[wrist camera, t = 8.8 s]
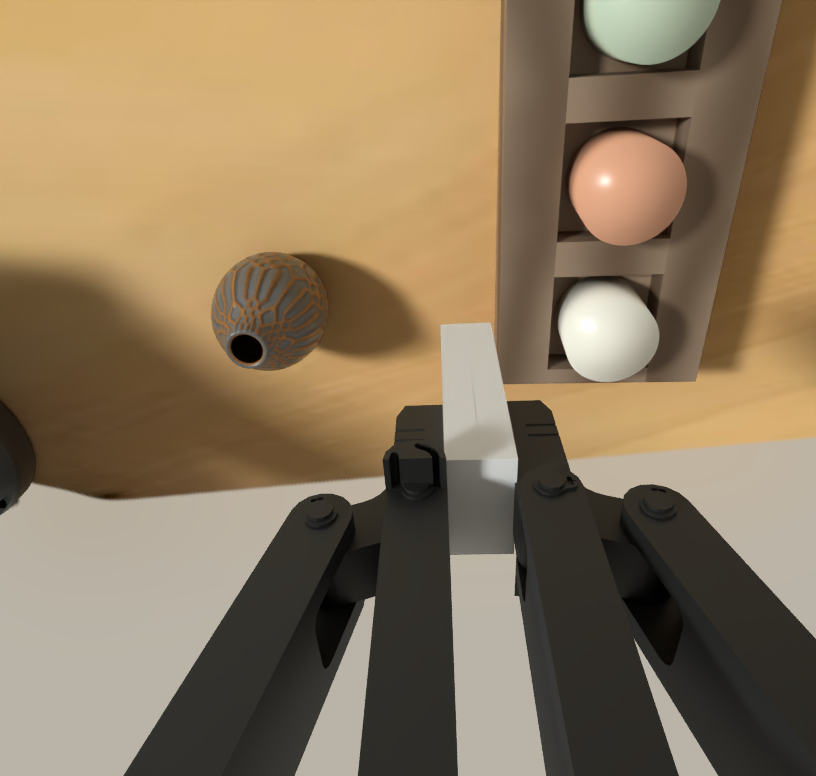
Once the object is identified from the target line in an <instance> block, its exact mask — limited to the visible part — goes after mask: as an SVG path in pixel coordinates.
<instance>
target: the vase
mask: <svg viewBox="0 0 816 776" xmlns="http://www.w3.org/2000/svg"><path fill="white" fill-rule="evenodd" d="M328 312H329V308H328V298H327V294H326V291H325V288H324V285H323V283H322V281H321V280H320V278H319V277H318V275H317V274H316V273H315V272H314V270H313V269H312V268H311V267H310V266H308V265H307V264H306V263H304V262H303V261H301V260H300V259H298V258H296V257H294V256H291V255H288V254H284V253H278V252H266V253H260V254H256V255H253V256H250V257H247V258H245V259H243V260H242V261H240V262H239V263H237V264H236V265H235V266H234V267H232V268H231V269H230V270H229V271H228V272H227V273H226V274H225V276H224V277H223V278H222V280H221V281H220V283H219V285H218V287H217V289H216V291H215V294H214V298H213V302H212V309H211V320H212V326H213V330H214V333H215V336H216V338H217V340H218V342H219V344H220V345H221V347H222V348H223V349H224V350H225V352H226V353H227V355H228V357H229V358H230V359H231V360H232V361H233V362H234V363H235V364H237V365H239V366H241V367H244V368H252V369H256V370H263V371H274V370H280V369H284V368H287V367H290V366H292V365H294V364H296V363H298V362H299V361H301V360H302V359H304V358H305V357H306V356H307V355H309V354H310V353H311V352H312V351H313V349H314V348H315V347H316V346H317V344H318V343H319V341H320V339H321V337H322V335H323V333H324V330H325V328H326V324H327V320H328Z"/></svg>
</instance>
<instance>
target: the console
mask: <svg viewBox="0 0 816 776" xmlns="http://www.w3.org/2000/svg"><path fill="white" fill-rule="evenodd" d="M781 3H782V0H721V1H720V3H719V6H718V9H717V12H716V14H715V16H714V18H713V20H712V21H711V23H710V25H709V27H708V28H707V29H706V31H705V32H704V33H703V35H702V36H701V37H700V38H699V39H698V40H697V41H696V43H694V44H693V45H692V46H691V47H690V48H689V49H688V50H686V51H685V52H683V53H682V54H680V55H679V56H677V57H675V58H673V59H671V60H668V61H666V62H662V63H659V64H652V65H641V64H635V63H630V62H624V61H619V60H614V59H611V58H608V57H606V56H604V55H602V54H600V53H599V52H598V51H596V50H595V49H594V48H593V47H592V45H591V44H590V43H589V41H588V40H587V38H586V36H585V34H584V31H583V29H582V25H581V21H580V0H501V37H500V88H499V138H498V188H497V239H496V289H495V340H494V342H495V346H496V351H497V356H498V361H499V366H500V371H501V376H502V381H503V384H547V383H619V382H690V381H696V377H697V373H698V369H699V364H700V360H701V355H702V351H703V347H704V342H705V338H706V333H707V329H708V325H709V320H710V316H711V311H712V307H713V303H714V298H715V294H716V289H717V285H718V281H719V276H720V272H721V267H722V263H723V259H724V254H725V250H726V245H727V241H728V237H729V232H730V228H731V223H732V219H733V215H734V210H735V206H736V201H737V197H738V193H739V188H740V184H741V179H742V175H743V171H744V166H745V162H746V157H747V153H748V149H749V144H750V140H751V135H752V131H753V127H754V122H755V118H756V113H757V109H758V105H759V100H760V96H761V91H762V87H763V83H764V78H765V74H766V69H767V65H768V61H769V56H770V52H771V47H772V43H773V39H774V34H775V30H776V25H777V21H778V17H779V12H780V8H781ZM613 127H629V128H634V129H637V130H639V131H641V132H643V133H645V134H647V135H649V136H650V137H652V138H654V139H656V140H658V141H659V142H661V143H663V144H665V145H667V146H668V147H669V148H671V149H672V150H673V151H674V152H675V153H676V154H677V155H678V156H679V158H680V159H681V161H682V163H683V165H684V168H685V171H686V177H687V189H686V195H685V199H684V202H683V204H682V207H681V209H680V211H679V213H678V214H677V216H676V217H675V219H674V220H673V221H672V222H671V223H670V225H669V226H668V227H667V228H666V229H664V230H663V231H662V232H661V233H659V234H658V235H656V236H655V237H653V238H651V239H649V240H647V241H645V242H642V243H639V244H635V245H627V246H619V245H612V244H609V243H606V242H604V241H602V240H600V239H598V238H597V237H595V236H594V235H593V234H592V233H591V232H590V231H589V230H588V229H587V227H586V226H585V224H584V223H583V221H582V220H581V218H580V217H579V215H578V214H577V212H576V211H575V209H574V208H573V206H572V204H571V203H570V200H569V198H568V195H567V190H566V176H567V171H568V167H569V164H570V162H571V160H572V158H573V156H574V154H575V153H576V151H577V150H578V149H579V147H580V146H581V145H582V144H583V143H584V142H585V141H586V140H588V139H589V138H590V137H592V136H593V135H595V134H597V133H598V132H600V131H603V130H606V129H609V128H613ZM589 276H617V277H620V278H622V279H624V280H625V281H627V282H628V283H629V284H630V285H631V286H632V287H633V288H634V289H635V291H636V292H637V294H638V295H639V297H640V298H641V300H642V301H643V303H644V304H645V305H646V307H647V308H648V310H649V311H650V313H651V314H652V316H653V317H654V319H655V321H656V323H657V325H658V329H659V343H658V347H657V350H656V352H655V354H654V356H653V358H652V359H651V360H650V362H649V363H648V364H647V365H646V366H645V367H644V368H643V369H641V370H640V371H639V372H637V373H636V374H634V375H632V376H630V377H628V378H625V379H622V380H619V381H614V382H599V381H594V380H590V379H588V378H585V377H583V376H582V375H580V374H579V373H578V372H576V371H575V370H574V368H573V367H572V366H571V364H570V363H569V361H568V358H567V355H566V352H565V349H564V346H563V343H562V340H561V337H560V334H559V331H558V329H557V325H556V320H555V314H556V308H557V305H558V303H559V300H560V299H561V297H562V295H563V294H564V293H565V292H566V290H567V289H568V288H569V287H571V286H572V285H573V284H574V283H576V282H578V281H579V280H581V279H583V278H586V277H589Z"/></svg>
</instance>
